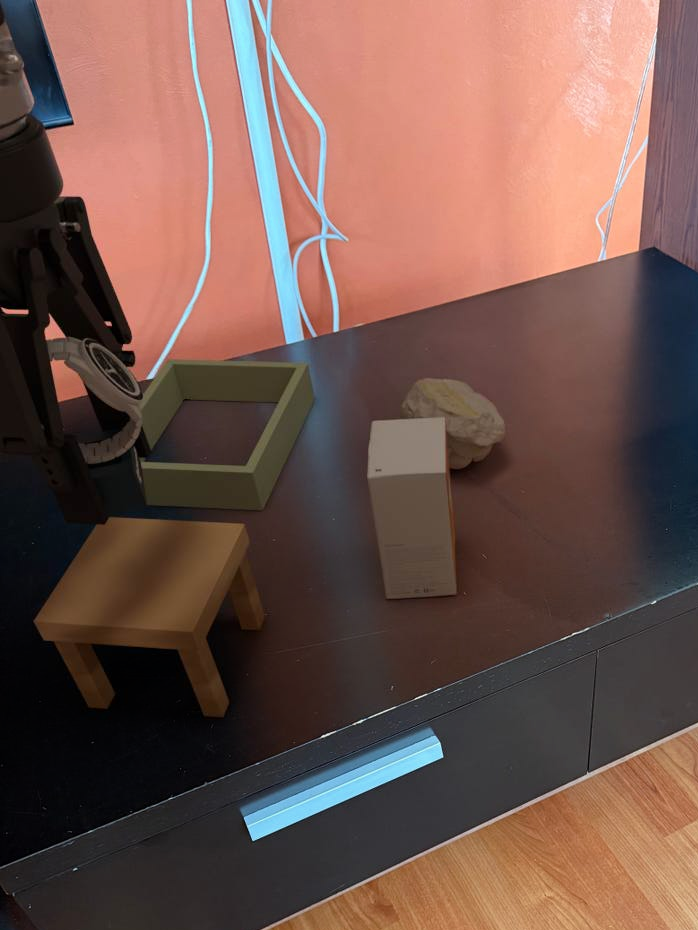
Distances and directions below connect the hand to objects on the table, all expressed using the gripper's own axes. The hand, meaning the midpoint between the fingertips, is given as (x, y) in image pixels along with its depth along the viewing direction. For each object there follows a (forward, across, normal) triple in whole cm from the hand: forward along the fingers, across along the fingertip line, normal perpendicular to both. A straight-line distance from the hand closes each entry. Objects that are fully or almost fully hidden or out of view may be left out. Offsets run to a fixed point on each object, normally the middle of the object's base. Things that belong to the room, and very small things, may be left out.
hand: (110, 485), depth 66 cm
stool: (+18, 0, 0) cm, 18 cm away
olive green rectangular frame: (+18, +30, +7) cm, 36 cm away
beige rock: (+18, +31, -18) cm, 40 cm away
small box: (+18, +13, -18) cm, 28 cm away
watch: (+1, 0, 0) cm, 1 cm away
